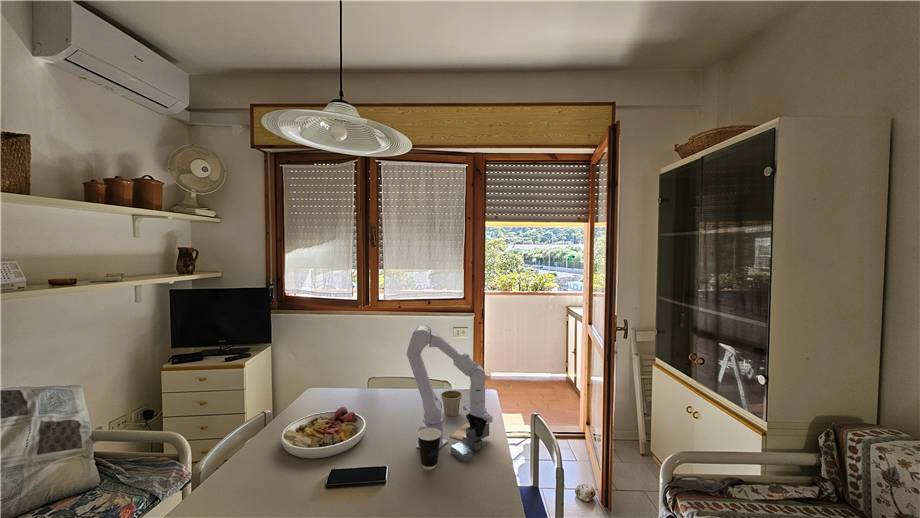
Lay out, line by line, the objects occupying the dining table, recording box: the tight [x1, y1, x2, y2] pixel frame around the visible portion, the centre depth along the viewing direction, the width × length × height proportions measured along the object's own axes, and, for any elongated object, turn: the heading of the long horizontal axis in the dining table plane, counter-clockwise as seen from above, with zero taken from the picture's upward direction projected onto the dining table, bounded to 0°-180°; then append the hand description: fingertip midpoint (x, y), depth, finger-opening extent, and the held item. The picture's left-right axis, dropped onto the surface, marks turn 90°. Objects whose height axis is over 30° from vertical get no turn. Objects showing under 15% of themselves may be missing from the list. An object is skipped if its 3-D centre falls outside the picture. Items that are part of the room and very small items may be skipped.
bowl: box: [280, 406, 367, 459], centre depth 145 cm, size 30×30×8 cm
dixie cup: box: [417, 428, 441, 471], centre depth 128 cm, size 8×8×11 cm
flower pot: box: [440, 389, 463, 417], centre depth 167 cm, size 9×9×9 cm
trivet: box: [449, 422, 470, 442], centre depth 150 cm, size 13×9×1 cm
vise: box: [450, 439, 479, 462], centre depth 136 cm, size 9×7×4 cm
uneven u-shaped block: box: [462, 423, 490, 451], centre depth 140 cm, size 11×7×5 cm, turn 129°
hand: (477, 434), depth 142 cm, fingers closed on uneven u-shaped block, 2 cm apart
